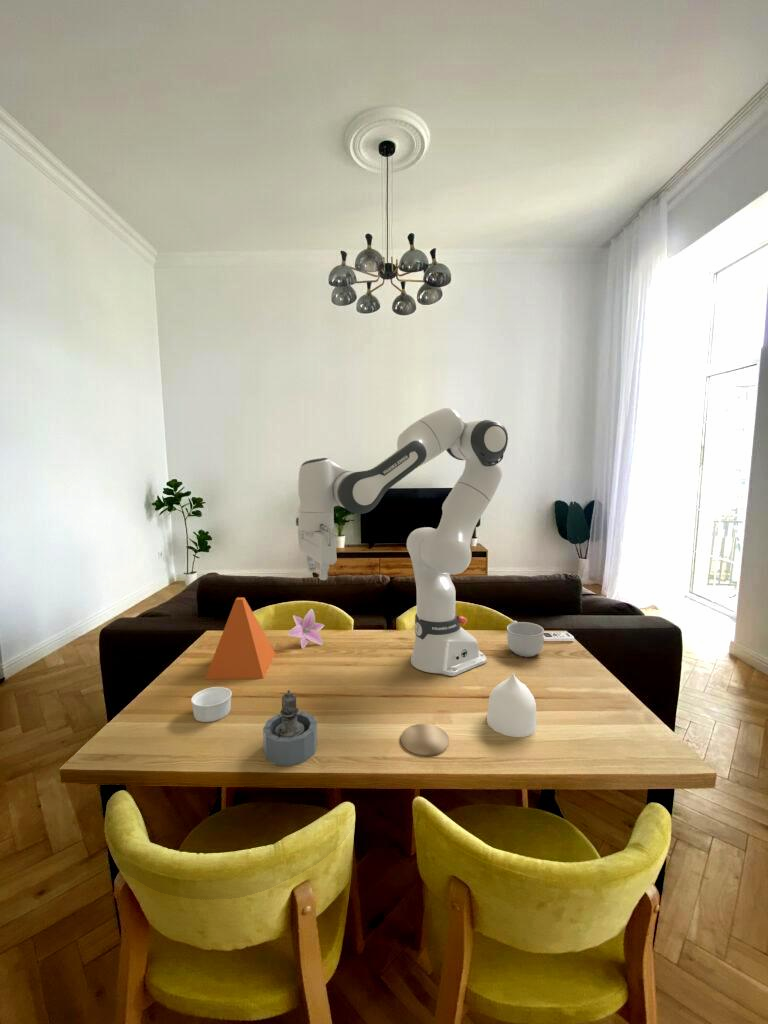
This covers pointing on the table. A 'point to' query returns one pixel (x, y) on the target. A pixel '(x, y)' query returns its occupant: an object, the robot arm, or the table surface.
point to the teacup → (525, 638)
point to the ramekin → (211, 704)
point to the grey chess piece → (289, 718)
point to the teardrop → (512, 709)
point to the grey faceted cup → (290, 741)
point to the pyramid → (241, 647)
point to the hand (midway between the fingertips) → (317, 575)
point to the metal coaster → (425, 739)
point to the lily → (307, 629)
